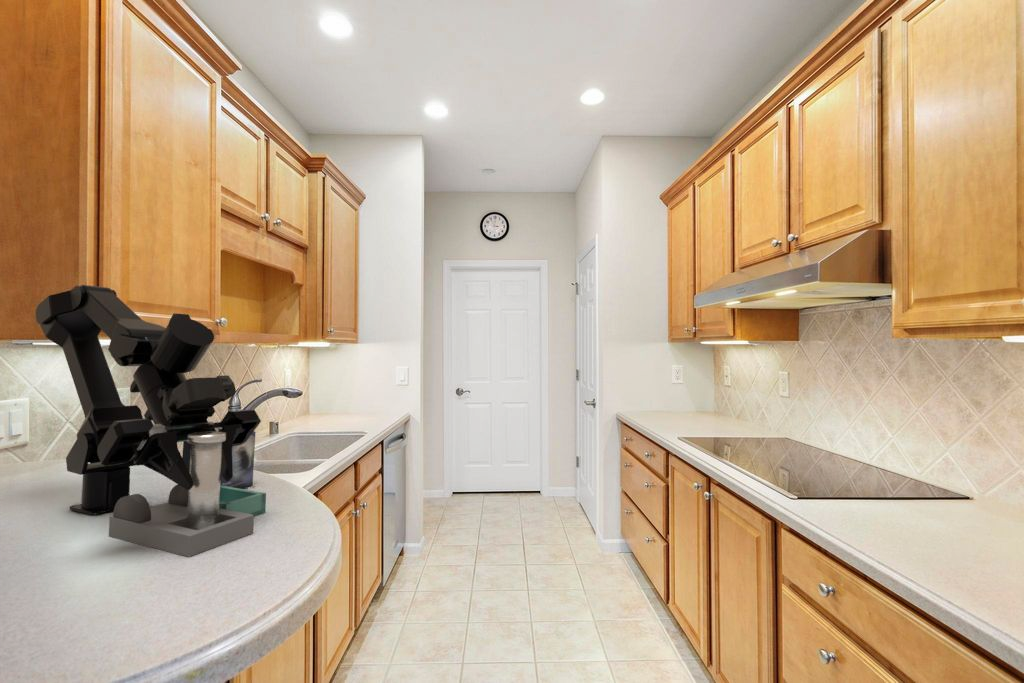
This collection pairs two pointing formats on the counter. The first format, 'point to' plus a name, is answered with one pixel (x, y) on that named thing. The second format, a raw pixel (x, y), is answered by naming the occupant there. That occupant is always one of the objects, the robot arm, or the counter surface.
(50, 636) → the counter surface
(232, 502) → the tray
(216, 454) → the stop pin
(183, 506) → the socket plate with bumps
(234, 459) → the small box
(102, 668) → the counter surface
